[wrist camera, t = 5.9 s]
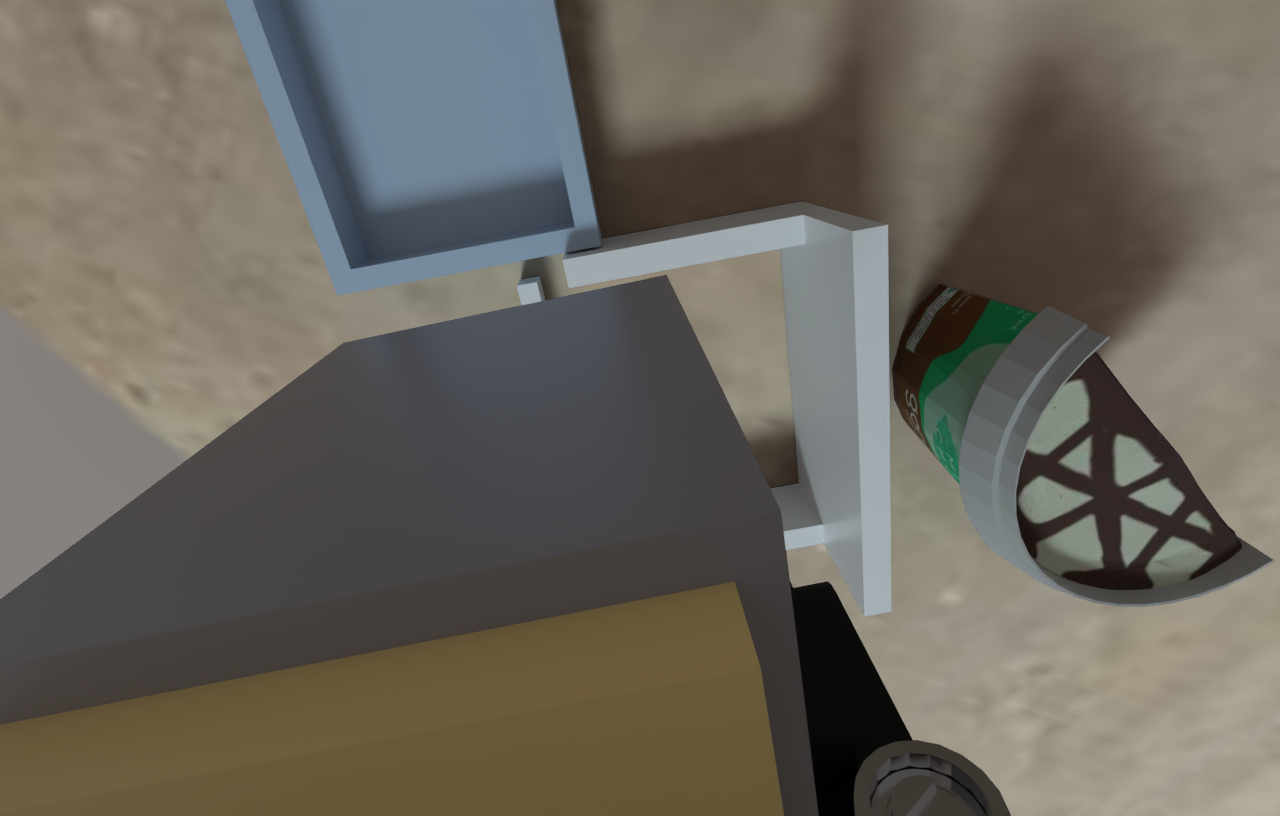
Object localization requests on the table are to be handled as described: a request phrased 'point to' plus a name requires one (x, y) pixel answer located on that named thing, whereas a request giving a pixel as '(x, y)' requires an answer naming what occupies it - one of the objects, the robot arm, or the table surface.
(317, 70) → the tray
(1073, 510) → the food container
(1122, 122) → the table surface
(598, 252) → the bay
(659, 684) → the yellow-topped block
